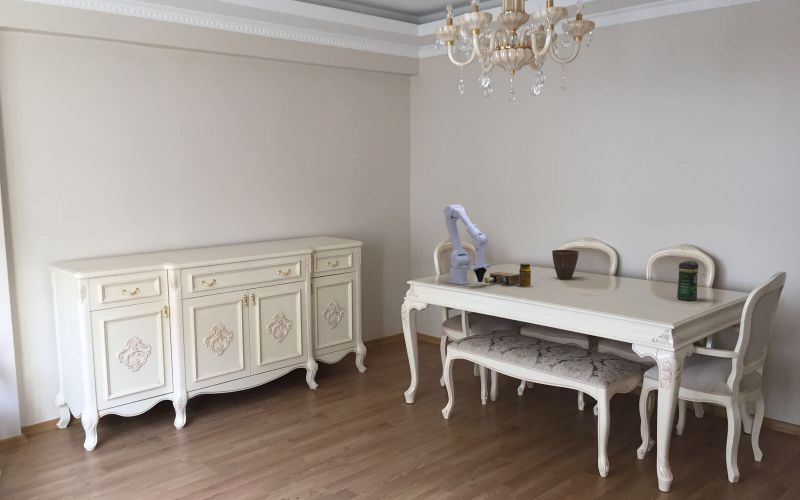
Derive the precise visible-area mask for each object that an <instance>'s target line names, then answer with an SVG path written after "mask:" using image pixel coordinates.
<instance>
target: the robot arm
mask: <svg viewBox="0 0 800 500" xmlns="http://www.w3.org/2000/svg"><path fill="white" fill-rule="evenodd" d="M443 214H444V217H445V218H444V219H445V225H446V229H447V233H448V237H449V240H450V245H451V249H452V253H451V254H450V264H451V266H452V267H451V268H450V269H449V281H448V284H455V285H460V286H461V285H466V284H470V283H471V281H468V267H469V270H470V271H473V272H474V274H475V275H476V279H477V282H478V283H483V281H484V278H485V274H486V272H487V268H491V264H490V263H487V262H486V255H487V254H486V250H487V249H486V245H487V243H488V242H489V238H488V236H487V234H485V233H483V232H482V231H480V229H479V228H478V225H477V224H475V223H473V222H471V220H470V218H469V216H468V215H467V214H466V209H465V208H464V206H463V205H462V204H461V203H459V204H447V205H446V206H445V208H444V209H443ZM458 220H460V221H461V222H462V223H463V225H464V226H465V227H466V231H467V234H468V235H469V236H470V237H471V239H472V244H473V248H474V265H471V266H470V263H471V258H470V256H469V255H468V252H467V251H466V250H465V249H464V248H463V245H462V240H461V237H460V232H459V229H458V226H457V221H458Z"/></svg>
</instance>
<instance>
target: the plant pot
mask: <svg viewBox="0 0 800 500" xmlns="http://www.w3.org/2000/svg"><path fill="white" fill-rule="evenodd" d="M551 253H552V254H551V256H552V261H553V267H554V270H555V271H554V272H555V273H556V276H557V279H559V280H562V281H569V280H571V279H572V278H573V275H574V273H575V270H576V266H577V264H578V259H579V254H580V253H579V250H574V249H573V250H572V249H553V250H552V251H551Z"/></svg>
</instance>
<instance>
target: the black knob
mask: <svg viewBox="0 0 800 500" xmlns="http://www.w3.org/2000/svg"><path fill="white" fill-rule="evenodd" d="M507 282H508V278H501V283H502V284H506V283H507Z"/></svg>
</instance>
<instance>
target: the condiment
mask: <svg viewBox="0 0 800 500" xmlns="http://www.w3.org/2000/svg"><path fill="white" fill-rule="evenodd" d="M518 272H519V273H518V274H519V285H513V286H514V287H516V288H521V289H522V288H530V287H533V285H531V282H532V281H531V280H532V279H531V277H532V276H531V272H532V270H531V264H530V263H521V264H520V265H519V271H518ZM513 286H512V287H513Z"/></svg>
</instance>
